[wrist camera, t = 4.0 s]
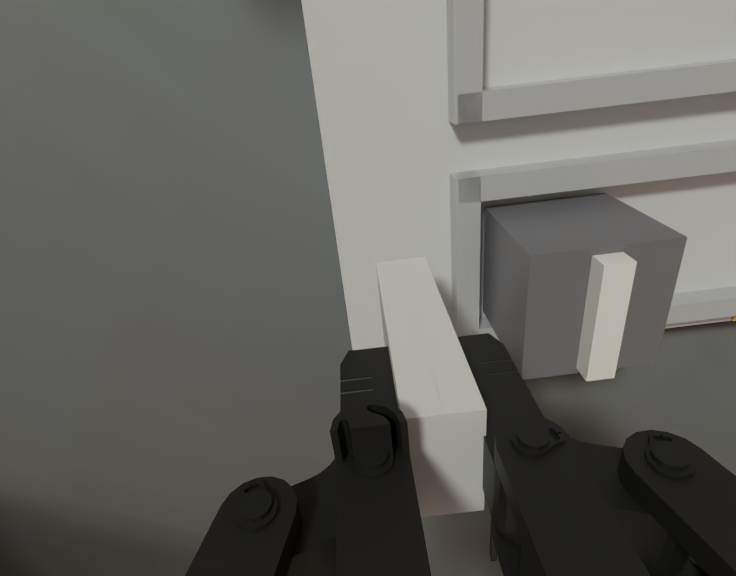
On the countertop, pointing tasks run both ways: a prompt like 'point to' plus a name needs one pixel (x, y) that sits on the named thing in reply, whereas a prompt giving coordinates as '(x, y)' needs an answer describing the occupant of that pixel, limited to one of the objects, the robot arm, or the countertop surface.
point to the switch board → (522, 133)
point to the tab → (578, 284)
